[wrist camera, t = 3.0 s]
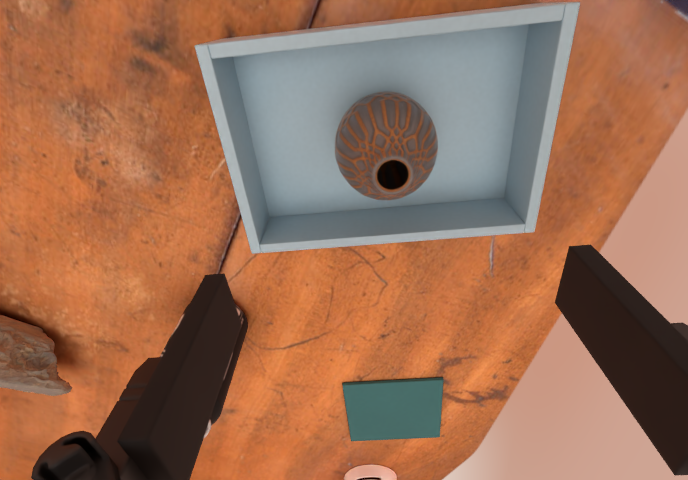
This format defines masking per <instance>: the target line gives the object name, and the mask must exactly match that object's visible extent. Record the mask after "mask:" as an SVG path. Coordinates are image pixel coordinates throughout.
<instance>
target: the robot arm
mask: <svg viewBox="0 0 688 480" xmlns="http://www.w3.org/2000/svg"><path fill="white" fill-rule="evenodd" d="M555 303H556V305H557V306H558V308H559V309H560V311H561V312H562V314H563V315H564V316H565V318H566V319H567V321H568V322H569V324H570V325H571V327H572V328H573V329H574V331H575V332H576V334H577V335H578V337H579V338H580V340H581V341H582V342H583V344H584V345H585V347H586V348H587V350H588V351H589V353H590V354H591V355H592V357H593V358H594V360H595V361H596V363H597V364H598V365H599V367H600V368H601V370H602V371H603V373H604V374H605V376H606V377H607V378H608V380H609V381H610V383H611V384H612V386H613V387H614V389H615V390H616V391H617V393H618V394H619V396H620V397H621V399H622V400H623V401H624V403H625V404H626V406H627V407H628V409H629V410H630V412H631V413H632V415H633V416H634V417H635V419H636V420H637V422H638V423H639V424H640V426H641V427H642V429H643V430H644V432H645V433H646V435H647V436H648V437H649V439H650V440H651V442H652V443H653V445H654V446H655V448H656V449H657V451H658V452H659V453H660V455H661V456H662V458H663V459H664V460H665V462H666V463H667V465H668V466H669V468H670V469H671V471H672V472H673V474H674V475H688V325H686V324H684V323H671V324H670V323H669V322H668V321H667V320H666V319H665V318H664V317H663V316H662V315H661V314H660V313H659V312H658V311H657V310H656V309H655V308H654V307H653V306H652V305H651V304H650V303H649V302H648V301H647V300H646V299H645V298H644V297H643V296H642V295H641V294H640V293H639V292H638V291H637V290H636V289H635V288H634V287H633V286H632V285H631V284H630V283H629V282H628V281H627V280H626V279H625V278H624V277H623V276H622V275H621V274H620V273H619V272H618V271H617V270H616V269H615V268H614V267H613V266H612V265H611V264H610V263H609V262H608V261H607V260H606V259H605V258H603V256H602V255H601V254H600V253H599V252H598V251H597V250H596V249H594V248H593V247H592V246H591V245H581V246H569V249H568V253H567V257H566V261H565V265H564V269H563V273H562V277H561V281H560V285H559V289H558V292H557V296H556V300H555ZM241 325H242V323H241V320H240V318H239V315H238V312H237V309H236V306H235V303H234V300H233V297H232V294H231V291H230V288H229V286H228V283H227V280H226V277H225V274H213V275H205V277H204V279H203V281H202V283H201V284H200V286H199V288H198V290H197V292H196V294H195V296H194V298H193V299H192V301H191V303H190V305H189V307H188V309H187V311H186V313H185V314H184V316H183V318H182V320H181V322H180V324H179V326H178V328H177V329H176V331H175V333H174V335H173V337H172V339H171V341H170V343H169V344H168V346H167V348H166V350H165V352H164V354H163V356H162V357H158V358H148V359H147V360H146V361H145V362H144V363H143V364H142V365H141V366H140V367H139V368H138V369H137V370H136V371H135V372H134V374H133V376H132V377H131V379H130V381H129V383H128V384H127V388H126V389H124V391H123V393H122V395H121V396H120V398H119V399H120V400H119V401H117V403H116V405H115V406H114V408H113V410H112V412H111V413H110V415H109V417H108V418H107V420H106V422H105V424H104V425H103V427H102V429H101V430H100V432H99V434H98V435H97V437H96V439H95V438H94V437H93V435H92V434H91V433H88V432H85V431H79V432H73V433H71V434H68V435H66V436H64V437H62V438H60V439H59V440H57V441H56V442H55V443H53V444H52V445H50V446H49V447H48V448H47V449H46V450H45V451H44V453H43V454H42V455H41V456H40V457H39V459H38V460H37V462H36V464H35V466H34V467H33V472H32V477H31V478H32V479H33V480H189V479H190V476H191V474H192V471H193V468H194V465H195V462H196V459H197V456H198V453H199V450H200V447H201V444H202V441H203V438H204V435H205V432H206V429H207V426H208V423H209V420H210V417H211V414H212V411H213V408H214V405H215V402H216V399H217V396H218V394H219V391H220V388H221V385H222V382H223V379H224V376H225V373H226V370H227V367H228V364H229V361H230V358H231V355H232V352H233V349H234V346H235V343H236V340H237V337H238V334H239V331H240V328H241Z"/></svg>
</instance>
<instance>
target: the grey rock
mask: <svg viewBox="0 0 688 480" xmlns="http://www.w3.org/2000/svg"><path fill="white" fill-rule="evenodd" d="M54 346H55V344H54V341H53V340H52V339H51V338H49V337H47V335H46V334H45V333H43V329H41V328H40V327H36V326H33V325H30V324H27V323H24V322H21V321H18V320H15V319H12V318H9V317H6V316H3V315H0V387H2V388H9V389H15V390H20V391H23V392H34V393H39V394H45V395H51V396H56V395H62V394H66V393H69V392H70V391H71V389H72V387H71V386H70V385H69V383H68V382H66V381H64V380H62V379H61V378H60V377H59V376H58V372H57V369H56V368H57V365H56V364H57V358H56V355H55V354H53V353H54Z"/></svg>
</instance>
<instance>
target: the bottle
mask: <svg viewBox="0 0 688 480" xmlns="http://www.w3.org/2000/svg"><path fill="white" fill-rule="evenodd" d="M367 477H376V478H381V480H397V475H396V474H395V472H394V471H393V470H391V469H389V468H388V467H384V466H381V465H373V464H371V465H361V466H357V467H354V468H352V469H350V470H349V471H348V472H347V473H346V474H345V477H344V480H358V479H361V478H367ZM369 480H375V479H369Z"/></svg>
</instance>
